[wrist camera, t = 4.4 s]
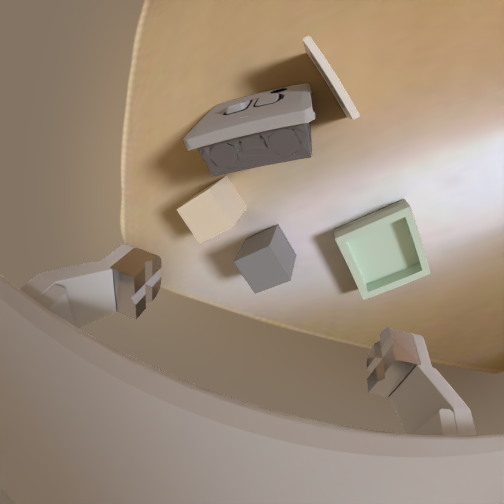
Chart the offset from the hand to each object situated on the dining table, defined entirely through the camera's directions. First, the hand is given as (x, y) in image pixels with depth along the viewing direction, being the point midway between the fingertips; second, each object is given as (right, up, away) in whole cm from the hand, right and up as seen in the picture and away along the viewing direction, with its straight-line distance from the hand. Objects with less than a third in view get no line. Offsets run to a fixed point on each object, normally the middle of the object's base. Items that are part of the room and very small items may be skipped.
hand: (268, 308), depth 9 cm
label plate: (+6, +17, +12) cm, 22 cm away
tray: (+13, +2, +18) cm, 23 cm away
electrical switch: (+1, +14, +15) cm, 21 cm away
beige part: (-4, +7, +21) cm, 22 cm away
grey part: (+2, +3, +22) cm, 22 cm away
